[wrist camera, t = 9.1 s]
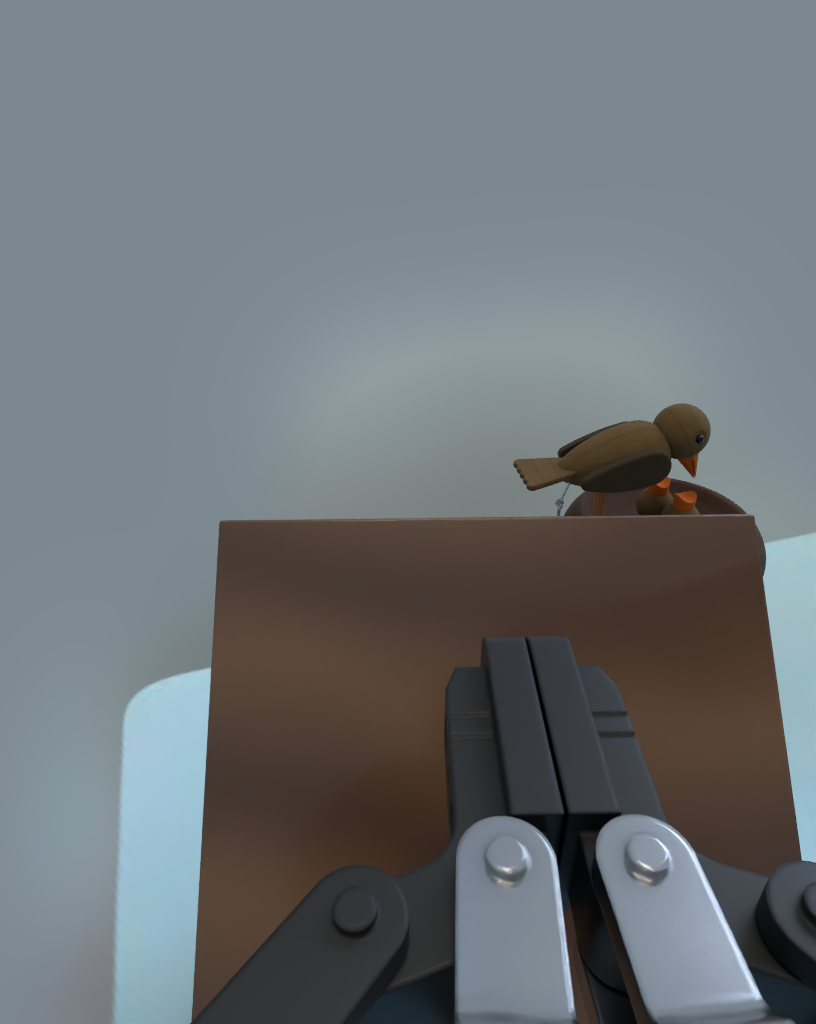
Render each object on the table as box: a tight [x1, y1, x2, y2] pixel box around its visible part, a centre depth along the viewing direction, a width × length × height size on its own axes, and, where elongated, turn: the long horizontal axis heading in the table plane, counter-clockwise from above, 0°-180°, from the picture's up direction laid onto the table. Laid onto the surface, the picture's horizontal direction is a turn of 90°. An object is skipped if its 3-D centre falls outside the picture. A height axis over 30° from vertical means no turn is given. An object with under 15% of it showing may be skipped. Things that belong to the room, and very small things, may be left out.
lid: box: [192, 514, 802, 1024], centre depth 16 cm, size 14×13×1 cm
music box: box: [514, 404, 766, 576], centre depth 35 cm, size 15×11×20 cm
